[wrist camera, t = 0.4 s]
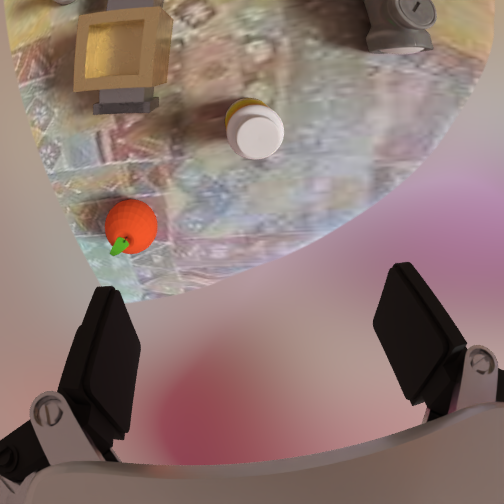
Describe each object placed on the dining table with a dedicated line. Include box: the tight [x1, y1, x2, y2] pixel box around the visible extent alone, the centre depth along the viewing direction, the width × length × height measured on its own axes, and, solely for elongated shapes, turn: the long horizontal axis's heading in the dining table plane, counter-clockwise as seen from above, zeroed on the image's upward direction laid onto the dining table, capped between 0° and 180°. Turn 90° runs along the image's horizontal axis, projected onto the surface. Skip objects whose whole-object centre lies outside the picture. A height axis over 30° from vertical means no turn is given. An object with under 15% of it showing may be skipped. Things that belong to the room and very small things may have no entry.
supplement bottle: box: [225, 98, 284, 159], centre depth 30 cm, size 6×6×10 cm
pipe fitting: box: [363, 0, 437, 54], centre depth 23 cm, size 12×8×10 cm, turn 12°
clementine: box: [105, 199, 157, 256], centre depth 37 cm, size 8×7×7 cm
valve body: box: [73, 0, 173, 115], centre depth 23 cm, size 18×8×8 cm, turn 173°
